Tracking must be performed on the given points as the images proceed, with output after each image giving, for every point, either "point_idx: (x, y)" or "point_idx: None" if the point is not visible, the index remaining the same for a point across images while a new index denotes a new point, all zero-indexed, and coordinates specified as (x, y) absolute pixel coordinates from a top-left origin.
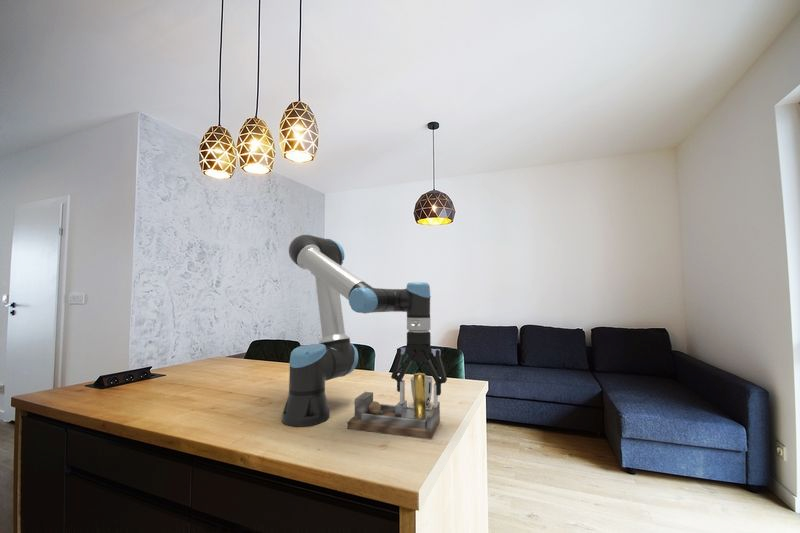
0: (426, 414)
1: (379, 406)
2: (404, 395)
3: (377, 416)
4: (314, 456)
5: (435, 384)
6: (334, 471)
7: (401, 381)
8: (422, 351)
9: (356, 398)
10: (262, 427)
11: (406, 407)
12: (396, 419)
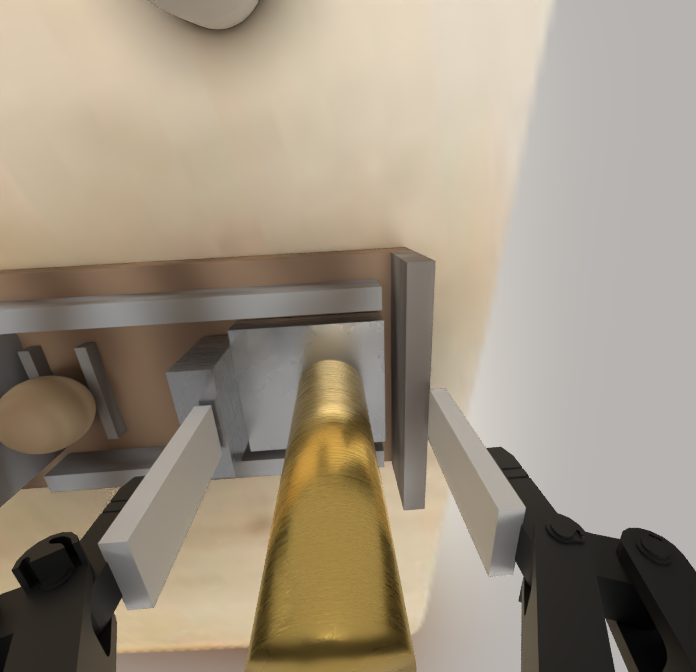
0: (365, 378)
1: (74, 427)
2: (196, 435)
3: None
4: (120, 621)
5: (506, 561)
6: (220, 644)
7: (125, 587)
8: None
9: None
10: None
11: (227, 362)
12: (242, 474)
